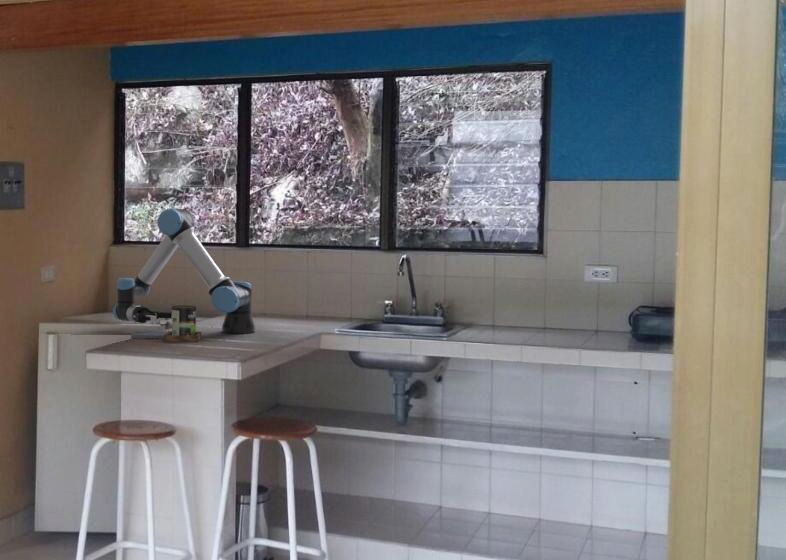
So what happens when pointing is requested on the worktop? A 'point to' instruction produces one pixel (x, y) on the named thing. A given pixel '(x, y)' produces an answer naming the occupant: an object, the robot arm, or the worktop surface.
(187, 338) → the walnut collar
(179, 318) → the coffee can
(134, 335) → the slate board
